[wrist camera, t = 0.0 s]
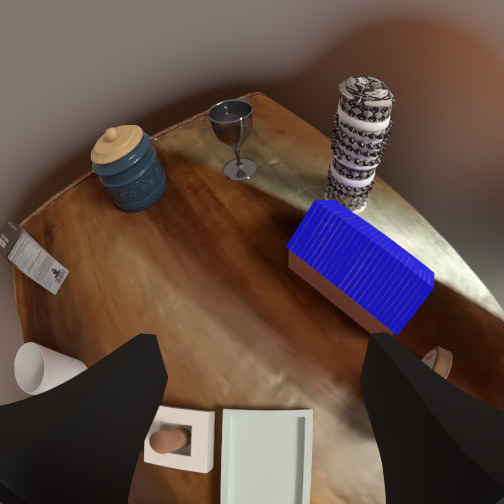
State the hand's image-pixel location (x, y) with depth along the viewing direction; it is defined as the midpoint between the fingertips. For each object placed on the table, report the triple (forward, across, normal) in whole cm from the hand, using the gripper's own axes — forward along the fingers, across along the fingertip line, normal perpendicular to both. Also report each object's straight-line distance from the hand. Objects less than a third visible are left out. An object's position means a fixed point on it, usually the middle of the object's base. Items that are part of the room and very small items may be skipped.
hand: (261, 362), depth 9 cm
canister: (+51, +29, -1) cm, 59 cm away
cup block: (+15, +13, +29) cm, 36 cm away
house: (+34, -13, +13) cm, 39 cm away
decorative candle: (+47, -14, +2) cm, 49 cm away
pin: (+15, +13, +29) cm, 35 cm away
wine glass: (+54, +7, -4) cm, 55 cm away
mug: (+18, +33, +27) cm, 46 cm away
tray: (+12, +1, +32) cm, 34 cm away
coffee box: (+35, +47, +12) cm, 60 cm away
